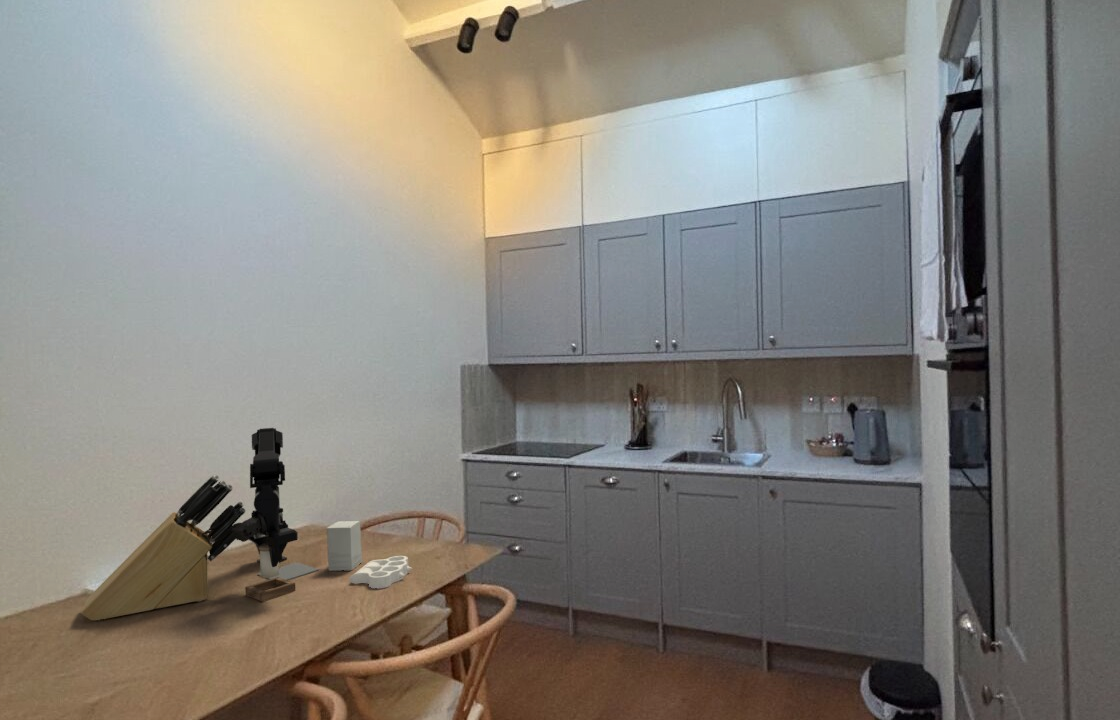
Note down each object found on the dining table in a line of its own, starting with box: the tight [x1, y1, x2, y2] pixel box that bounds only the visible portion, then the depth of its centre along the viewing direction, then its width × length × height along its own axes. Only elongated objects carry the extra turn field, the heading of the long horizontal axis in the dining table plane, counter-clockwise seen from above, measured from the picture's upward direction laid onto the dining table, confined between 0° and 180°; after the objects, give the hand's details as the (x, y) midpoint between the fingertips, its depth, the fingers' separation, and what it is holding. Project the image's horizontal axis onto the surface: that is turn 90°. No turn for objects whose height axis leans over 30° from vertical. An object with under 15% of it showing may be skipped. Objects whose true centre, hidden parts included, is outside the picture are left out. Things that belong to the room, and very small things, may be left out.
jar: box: [259, 544, 280, 579], centre depth 161 cm, size 5×5×8 cm
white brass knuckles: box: [349, 555, 413, 589], centre depth 170 cm, size 3×18×15 cm
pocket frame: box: [244, 577, 296, 602], centre depth 161 cm, size 9×9×2 cm
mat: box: [256, 561, 320, 581], centre depth 176 cm, size 12×12×1 cm
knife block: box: [80, 474, 246, 621], centre depth 157 cm, size 11×35×31 cm, turn 120°
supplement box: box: [326, 520, 363, 572], centre depth 180 cm, size 7×7×13 cm
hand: (269, 565), depth 161 cm, fingers closed on jar, 4 cm apart
